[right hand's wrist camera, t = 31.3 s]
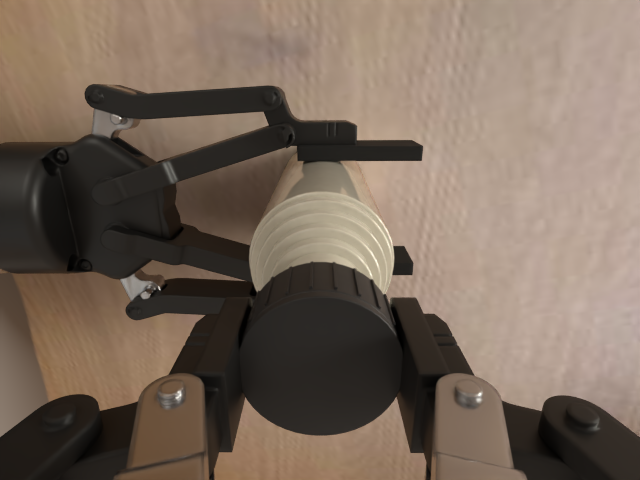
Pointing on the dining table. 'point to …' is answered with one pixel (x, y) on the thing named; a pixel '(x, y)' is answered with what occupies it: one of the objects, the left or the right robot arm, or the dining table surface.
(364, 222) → the bottle
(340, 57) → the dining table surface
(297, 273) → the cap
